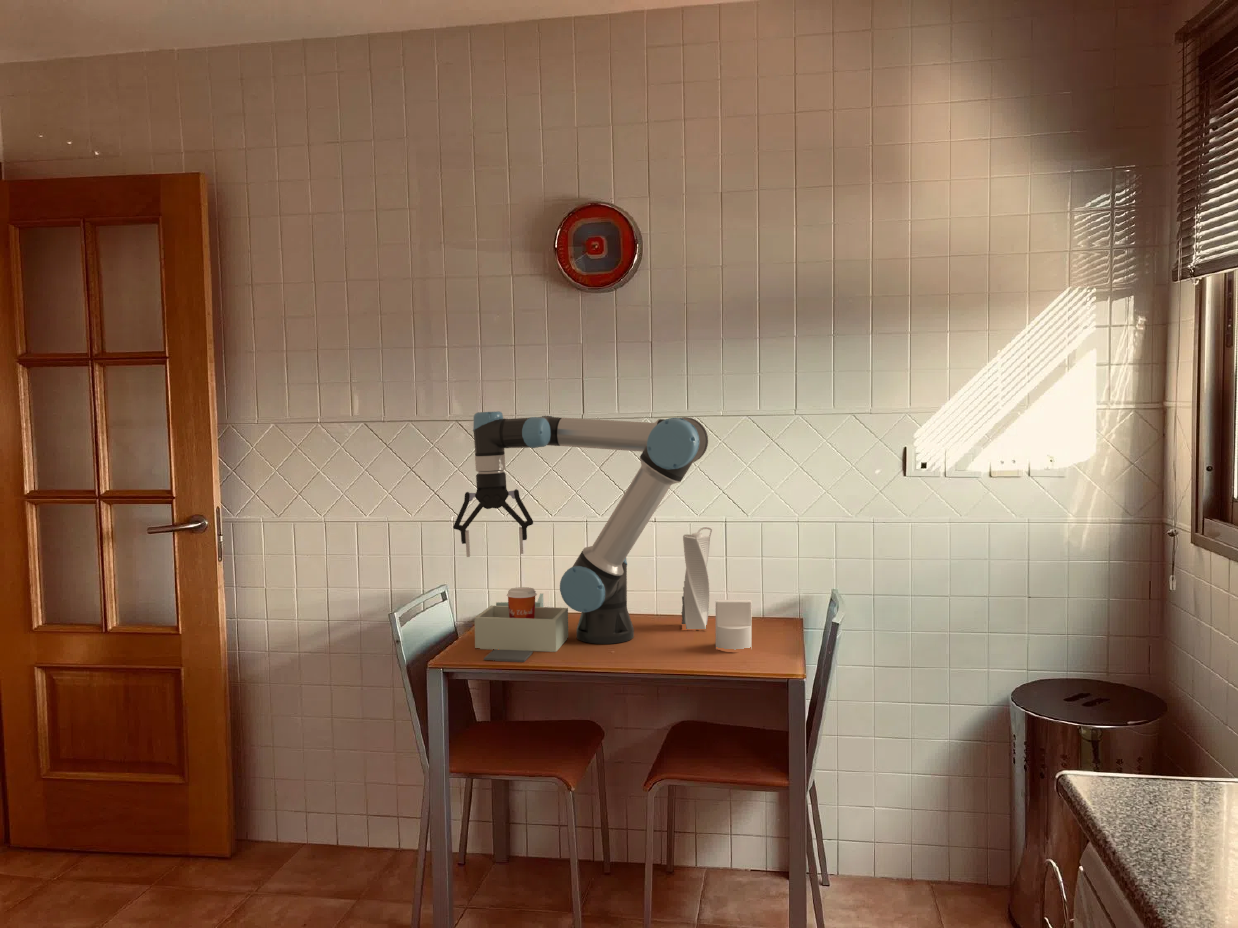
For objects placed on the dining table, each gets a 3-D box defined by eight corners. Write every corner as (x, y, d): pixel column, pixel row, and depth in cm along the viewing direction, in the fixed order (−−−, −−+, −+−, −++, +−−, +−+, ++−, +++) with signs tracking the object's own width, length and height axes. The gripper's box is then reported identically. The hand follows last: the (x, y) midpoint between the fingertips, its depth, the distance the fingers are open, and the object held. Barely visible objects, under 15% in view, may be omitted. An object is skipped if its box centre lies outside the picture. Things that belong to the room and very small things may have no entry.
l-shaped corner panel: (543, 619, 276) (543, 593, 275) (540, 629, 264) (540, 602, 263) (501, 619, 276) (501, 593, 275) (496, 630, 264) (496, 603, 263)
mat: (532, 653, 240) (532, 650, 240) (524, 662, 232) (524, 659, 232) (493, 651, 242) (493, 649, 242) (484, 660, 234) (483, 657, 234)
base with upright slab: (716, 652, 239) (716, 604, 238) (714, 643, 248) (714, 597, 247) (753, 652, 239) (753, 604, 238) (749, 643, 248) (749, 597, 247)
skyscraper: (711, 625, 268) (711, 525, 266) (712, 633, 260) (712, 529, 258) (681, 625, 268) (681, 525, 266) (680, 632, 260) (680, 529, 258)
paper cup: (504, 646, 246) (503, 592, 245) (511, 639, 254) (510, 586, 253) (534, 647, 245) (533, 592, 244) (540, 639, 253) (539, 586, 252)
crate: (568, 637, 255) (568, 607, 254) (556, 651, 241) (555, 620, 240) (491, 634, 258) (491, 605, 258) (475, 648, 244) (474, 617, 244)
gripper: (539, 468, 251) (543, 549, 253) (442, 473, 249) (447, 555, 250) (540, 470, 244) (544, 553, 245) (440, 475, 241) (444, 559, 243)
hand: (495, 554), depth 248 cm, fingers open, 13 cm apart
